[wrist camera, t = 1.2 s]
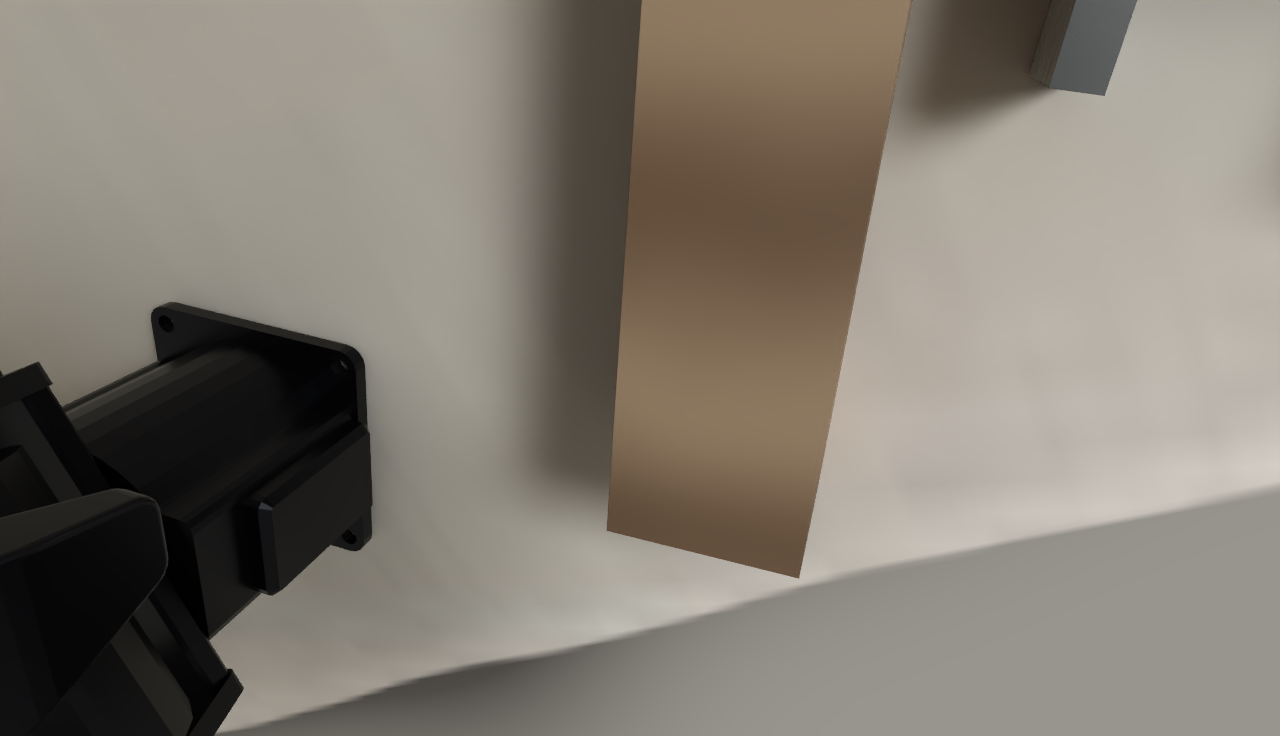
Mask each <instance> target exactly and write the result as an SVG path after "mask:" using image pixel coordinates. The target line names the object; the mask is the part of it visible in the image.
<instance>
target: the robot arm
mask: <svg viewBox="0 0 1280 736" xmlns="http://www.w3.org/2000/svg"><path fill="white" fill-rule="evenodd" d="M171 321H172V322H173V323H172V322H171ZM151 322H152V328H153V334H154V340H155V346H156V352H157V358H158V361H157V362H155V363H153V364H151V365H149V366H147V367H144V368H142V369H140V370H138V371H136V372H134V373H132V374H130V375H128V376H126V377H123V378H121V379H119V380H117V381H115V382H113V383H111V384H109V385H107V386H105V387H103V388H100V389H98V390H96V391H94V392H92V393H90V394H88V395H86V396H84V397H82V398H79V399H77V400H75V401H73V402H71V403H69V404H67V405H65V406H63V407H61V405H60V404H59V402H58V400H57V399H56V397H55V396H54V394H53V393H52V391H51V389H50V388H49V386H50V385H52V384H53V383H52V382H51V380H50V379H49V377H48V375H47V374H46V372H45V371H44V369H43V367H42V366H41V364H40V363H39V362H36V363H34V364H31V365H28V366H26V367H23V368H21V369H18V370H16V371H13V372H11V373H8V374H5V375H3V374H2V372H1V371H0V736H214V735H215V733H216V731H217V730H218V728H219V727H220V725H221V724H222V722H223V721H224V719H225V718H226V716H227V714H228V713H229V711H230V710H231V708H232V707H233V705H234V704H235V702H236V701H237V699H238V697H239V696H240V694H241V693H242V691H243V689H244V688H243V686H242V684H241V683H240V681H239V679H238V678H237V676H236V675H235V673H234V671H233V670H232V669H227V668H226V667H225V665H224V664H223V662H222V661H221V659H220V657H219V656H218V654H217V653H216V651H215V649H214V648H213V646H212V645H211V643H210V641H209V640H210V639H211V638H212V637H213V636H215V635H216V634H217V633H218V632H219V631H220V630H221V629H222V628H223V627H224V626H226V625H227V624H228V623H229V622H230V621H231V620H232V619H233V618H234V617H235V616H237V615H238V614H239V613H240V612H241V611H242V610H243V609H244V608H245V607H246V606H248V605H249V604H250V603H251V602H252V601H253V600H254V599H255V598H256V597H257V596H259V595H260V594H261V593H264V594H267V595H271V596H273V595H274V594H276V593H278V592H279V591H281V590H282V589H284V588H285V587H286V586H287V585H288V584H289V583H290V582H291V581H292V580H293V579H294V578H295V577H296V576H297V575H299V574H300V573H301V572H302V571H303V570H304V569H305V568H306V567H307V566H308V565H309V564H310V563H311V562H312V561H314V560H315V559H316V558H317V557H318V556H319V555H320V554H321V553H322V552H323V551H324V550H325V549H326V548H328V547H329V546H330V545H333V546H337V547H340V548H343V549H346V550H350V551H358V550H360V549H361V548H362V547H363V546H364V545H365V544H366V543H367V542H368V541H369V540H370V539H371V536H372V522H371V506H372V479H371V455H370V434H369V431H368V427H367V403H366V380H365V364H364V360H363V358H362V356H361V355H360V353H359V352H358V351H357V350H356V349H355V348H353V347H351V346H348V345H345V344H341V343H337V342H333V341H329V340H325V339H321V338H317V337H313V336H309V335H305V334H300V333H296V332H292V331H288V330H284V329H280V328H276V327H272V326H268V325H264V324H260V323H256V322H252V321H248V320H244V319H240V318H236V317H232V316H228V315H224V314H219V313H215V312H211V311H207V310H203V309H199V308H195V307H191V306H187V305H183V304H179V303H175V302H169V303H167V304H164V305H162V306H159V307H157V308H155V309H154V310H153V312H152V314H151ZM340 360H341V361H343V362H344V363H345V364H346V365H347V369H348V370H346V369H344V367H343V366H342V365H341V362H340ZM351 531H352V532H353V533H354V534H355V535H354V534H353V533H352V532H351Z"/></svg>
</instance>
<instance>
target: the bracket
mask: <svg viewBox="0 0 1280 736" xmlns="http://www.w3.org/2000/svg"><path fill="white" fill-rule="evenodd" d="M1136 2H1137V0H1051V4H1050V7H1049V10H1048V14H1047V17H1046V20H1045V24H1044V27H1043V30H1042V34H1041V37H1040V40H1039V44H1038V47H1037V50H1036V54H1035V57H1034V60H1033V64H1032V67H1031V70H1030V74H1029V75H1030V76H1031V77H1033V78H1034V79H1036V80H1037V81H1039V82H1040V83H1042V84H1043V85H1045V86H1046V87H1048V88H1052V89H1059V90H1067V91H1074V92H1081V93H1088V94H1095V95H1103V96H1105V93H1106V90H1107V87H1108V84H1109V81H1110V78H1111V75H1112V72H1113V69H1114V66H1115V63H1116V61H1117V58H1118V55H1119V52H1120V49H1121V46H1122V43H1123V40H1124V37H1125V34H1126V31H1127V28H1128V25H1129V22H1130V20H1131V17H1132V14H1133V11H1134V8H1135V5H1136Z"/></svg>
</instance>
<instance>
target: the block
mask: <svg viewBox="0 0 1280 736" xmlns="http://www.w3.org/2000/svg"><path fill="white" fill-rule="evenodd" d="M911 4H912V0H642V5H641V20H640V35H639V50H638V65H637V80H636V96H635V111H634V126H633V141H632V156H631V171H630V186H629V202H628V217H627V232H626V247H625V262H624V277H623V293H622V308H621V323H620V338H619V353H618V368H617V384H616V399H615V414H614V429H613V444H612V459H611V474H610V490H609V505H608V520H607V531H610V532H614V533H618V534H622V535H626V536H630V537H635V538H639V539H643V540H647V541H651V542H655V543H659V544H663V545H667V546H671V547H675V548H679V549H683V550H687V551H691V552H695V553H699V554H703V555H707V556H711V557H715V558H719V559H723V560H727V561H731V562H735V563H739V564H743V565H747V566H751V567H755V568H759V569H763V570H767V571H771V572H775V573H779V574H783V575H787V576H791V577H795V578H799V575H800V570H801V566H802V561H803V556H804V551H805V546H806V541H807V537H808V532H809V527H810V522H811V517H812V512H813V508H814V503H815V498H816V493H817V488H818V483H819V478H820V473H821V468H822V463H823V458H824V453H825V447H826V442H827V437H828V432H829V427H830V422H831V416H832V411H833V406H834V401H835V396H836V391H837V385H838V380H839V375H840V370H841V365H842V360H843V355H844V349H845V344H846V339H847V334H848V329H849V324H850V318H851V313H852V308H853V303H854V298H855V293H856V287H857V282H858V277H859V272H860V267H861V262H862V257H863V251H864V246H865V241H866V236H867V231H868V226H869V220H870V215H871V210H872V205H873V200H874V195H875V189H876V184H877V179H878V174H879V169H880V164H881V158H882V153H883V148H884V143H885V138H886V133H887V128H888V122H889V117H890V112H891V107H892V102H893V97H894V91H895V86H896V81H897V76H898V71H899V66H900V60H901V55H902V50H903V45H904V40H905V35H906V30H907V24H908V19H909V14H910V9H911Z"/></svg>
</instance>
